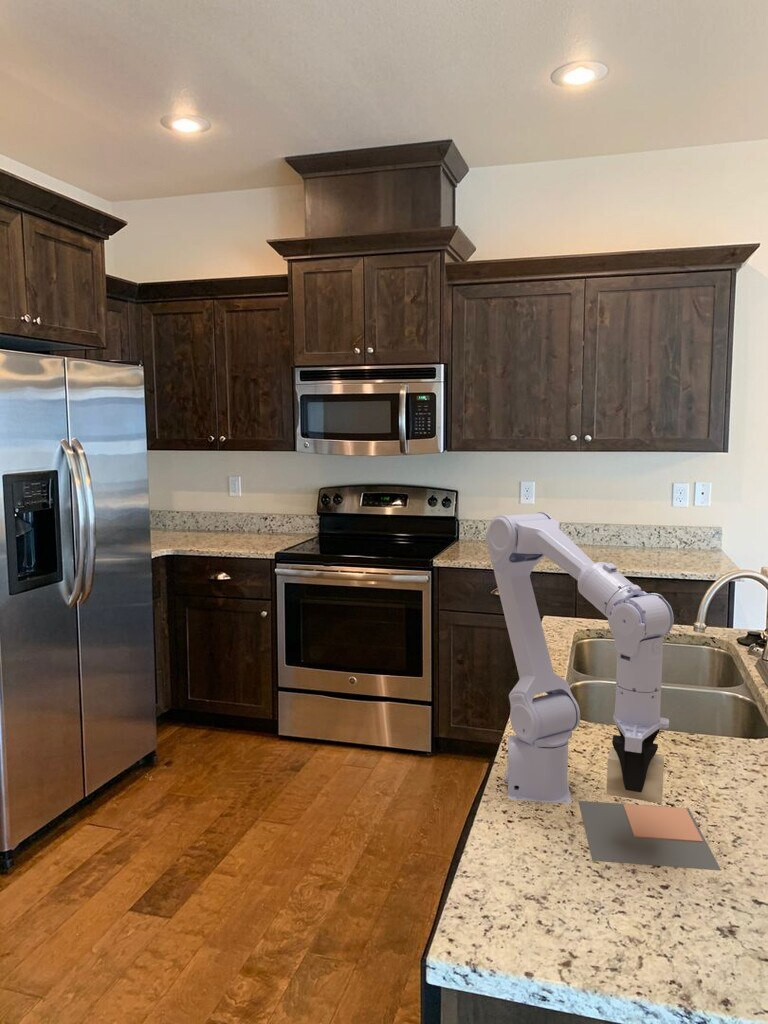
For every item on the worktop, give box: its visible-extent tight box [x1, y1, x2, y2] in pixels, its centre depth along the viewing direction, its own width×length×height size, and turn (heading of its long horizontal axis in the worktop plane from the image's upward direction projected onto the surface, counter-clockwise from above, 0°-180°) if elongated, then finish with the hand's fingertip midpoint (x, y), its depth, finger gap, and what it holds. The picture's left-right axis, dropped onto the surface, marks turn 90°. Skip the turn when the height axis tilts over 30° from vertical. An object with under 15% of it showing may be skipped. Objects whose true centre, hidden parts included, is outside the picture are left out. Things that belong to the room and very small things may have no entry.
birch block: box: [606, 746, 665, 805], centre depth 101 cm, size 7×4×5 cm, turn 68°
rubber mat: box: [578, 800, 722, 872], centre depth 104 cm, size 16×16×1 cm
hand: (634, 782), depth 101 cm, fingers closed on birch block, 4 cm apart
